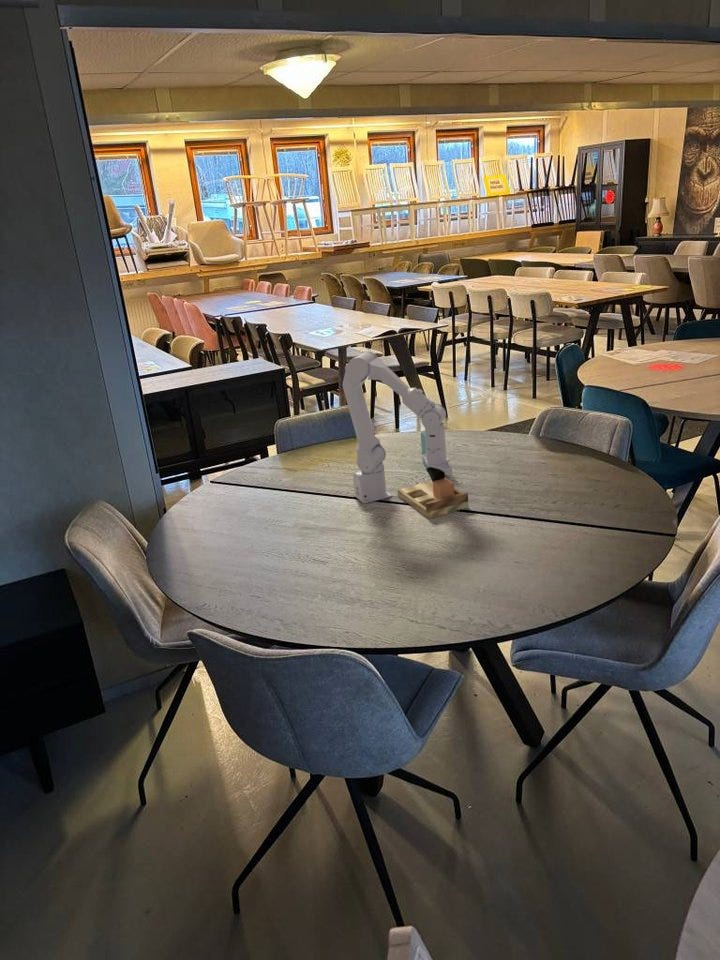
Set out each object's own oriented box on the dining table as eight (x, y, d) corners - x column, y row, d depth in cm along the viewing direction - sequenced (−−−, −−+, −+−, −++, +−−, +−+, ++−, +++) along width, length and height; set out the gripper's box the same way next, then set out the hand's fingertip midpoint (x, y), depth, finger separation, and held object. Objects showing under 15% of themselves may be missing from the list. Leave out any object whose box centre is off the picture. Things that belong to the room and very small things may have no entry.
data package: (445, 473, 220) (443, 438, 216) (432, 475, 220) (430, 440, 215) (435, 461, 231) (433, 428, 227) (422, 463, 231) (420, 430, 226)
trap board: (428, 518, 189) (427, 504, 188) (397, 495, 207) (396, 482, 205) (468, 507, 193) (467, 493, 192) (435, 486, 211) (434, 472, 209)
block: (440, 501, 195) (440, 487, 193) (433, 495, 199) (432, 481, 197) (454, 497, 196) (453, 483, 194) (446, 491, 200) (446, 478, 198)
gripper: (460, 450, 190) (462, 494, 195) (435, 437, 202) (438, 479, 207) (438, 455, 187) (441, 500, 192) (414, 442, 200) (418, 484, 205)
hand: (438, 490), depth 200 cm, fingers closed, pressing on block
